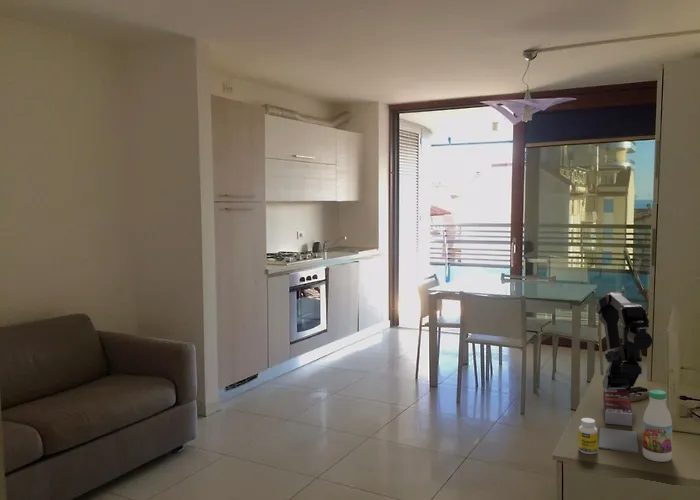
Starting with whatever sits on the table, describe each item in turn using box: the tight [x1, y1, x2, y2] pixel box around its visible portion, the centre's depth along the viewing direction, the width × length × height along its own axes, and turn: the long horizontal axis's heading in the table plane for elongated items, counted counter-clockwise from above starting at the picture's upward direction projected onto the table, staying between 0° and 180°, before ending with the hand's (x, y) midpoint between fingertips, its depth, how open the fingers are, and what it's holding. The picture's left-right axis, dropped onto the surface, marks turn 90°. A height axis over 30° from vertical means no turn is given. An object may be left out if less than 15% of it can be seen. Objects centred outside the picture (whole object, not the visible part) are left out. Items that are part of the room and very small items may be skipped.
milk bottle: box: [642, 389, 673, 463], centre depth 177 cm, size 8×8×20 cm
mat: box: [598, 427, 639, 454], centre depth 190 cm, size 16×11×1 cm
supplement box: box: [602, 388, 634, 427], centre depth 209 cm, size 9×5×16 cm
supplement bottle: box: [578, 417, 599, 455], centre depth 183 cm, size 5×5×10 cm
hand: (631, 386), depth 204 cm, fingers closed
